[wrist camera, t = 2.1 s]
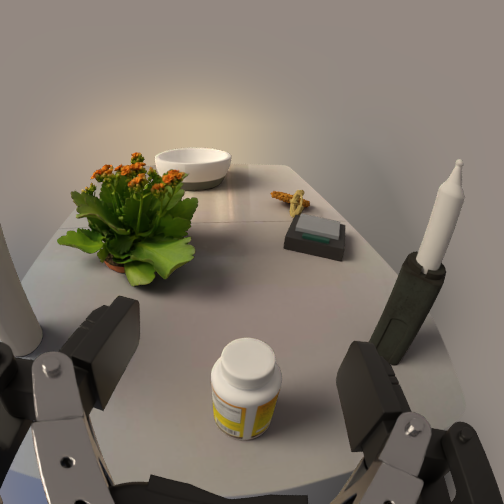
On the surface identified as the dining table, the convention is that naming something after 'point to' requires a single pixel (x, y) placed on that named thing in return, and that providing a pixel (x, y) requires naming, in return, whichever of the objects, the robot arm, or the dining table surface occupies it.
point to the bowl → (195, 166)
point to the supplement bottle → (245, 388)
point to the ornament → (293, 201)
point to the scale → (316, 237)
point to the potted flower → (135, 221)
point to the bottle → (15, 309)
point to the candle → (420, 275)
